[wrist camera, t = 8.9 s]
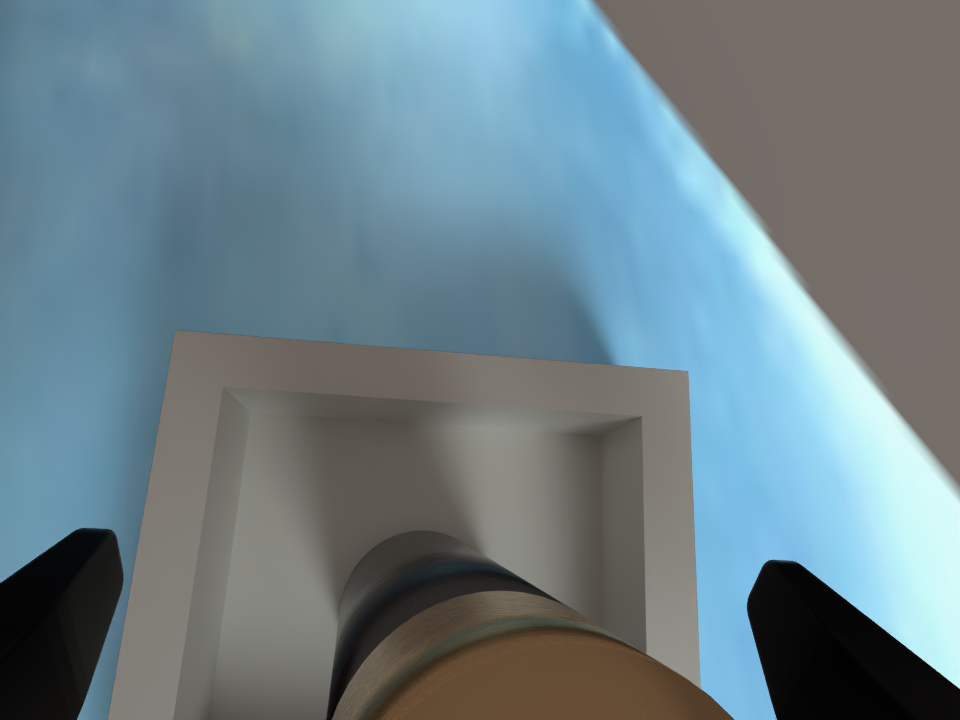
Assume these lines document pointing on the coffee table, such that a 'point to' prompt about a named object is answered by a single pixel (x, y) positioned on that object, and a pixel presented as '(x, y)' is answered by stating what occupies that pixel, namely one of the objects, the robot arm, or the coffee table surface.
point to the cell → (485, 647)
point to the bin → (391, 507)
